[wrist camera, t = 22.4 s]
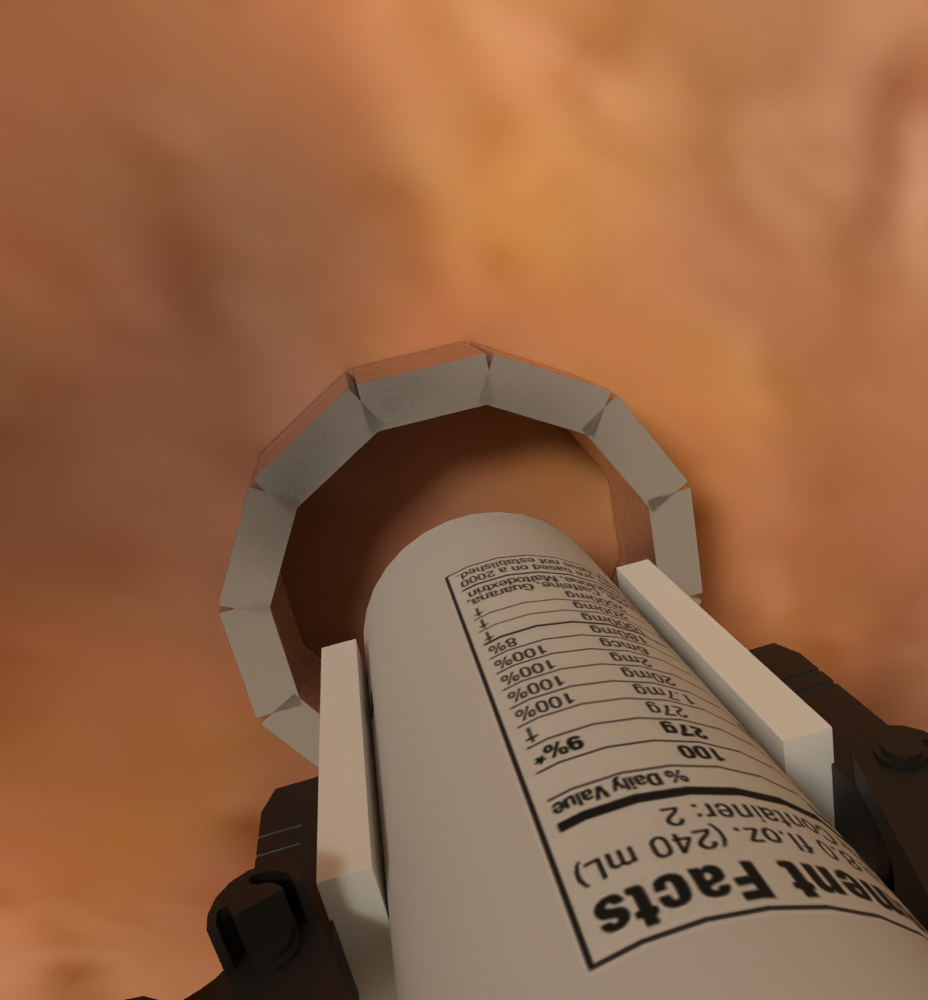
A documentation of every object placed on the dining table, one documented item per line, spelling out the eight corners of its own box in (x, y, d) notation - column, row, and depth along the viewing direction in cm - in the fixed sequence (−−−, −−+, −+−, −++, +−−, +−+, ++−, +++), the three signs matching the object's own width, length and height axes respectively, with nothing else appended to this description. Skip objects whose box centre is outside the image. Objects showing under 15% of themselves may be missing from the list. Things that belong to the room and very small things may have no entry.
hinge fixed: (414, 1095, 28) (442, 1368, 21) (179, 408, 20) (95, 488, 12) (716, 993, 30) (837, 1219, 23) (623, 303, 21) (776, 321, 14)
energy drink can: (313, 646, 18) (261, 1867, 4) (457, 452, 18) (968, 1186, 4) (500, 751, 20) (887, 1847, 6) (638, 579, 19) (1447, 1396, 5)
